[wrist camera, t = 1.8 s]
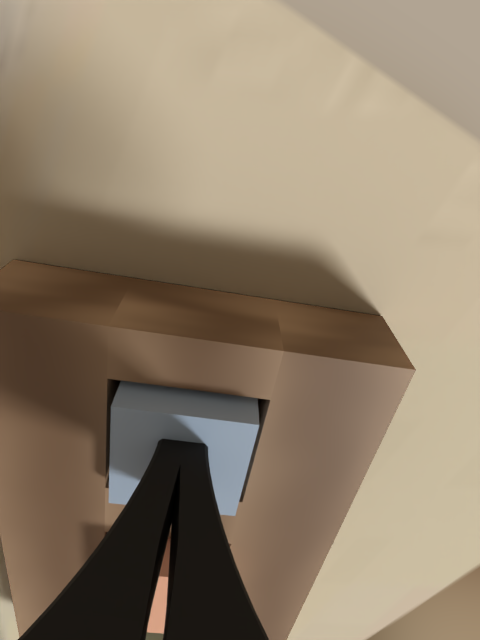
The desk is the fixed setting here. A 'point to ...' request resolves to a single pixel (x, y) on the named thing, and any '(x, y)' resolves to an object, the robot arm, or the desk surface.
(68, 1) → the desk surface
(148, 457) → the slate button
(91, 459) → the button panel
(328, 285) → the desk surface
